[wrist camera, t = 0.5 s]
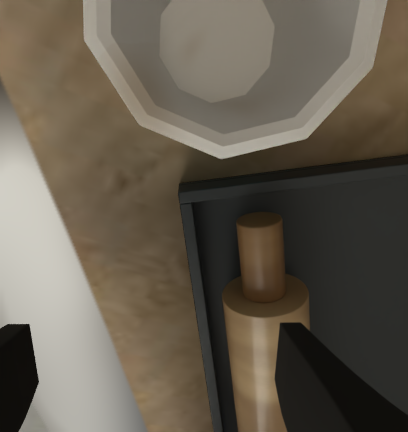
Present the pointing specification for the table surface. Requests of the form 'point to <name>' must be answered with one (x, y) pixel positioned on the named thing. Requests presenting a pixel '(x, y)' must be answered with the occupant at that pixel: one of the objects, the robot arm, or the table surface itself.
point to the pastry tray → (311, 265)
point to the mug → (233, 65)
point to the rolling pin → (260, 319)
